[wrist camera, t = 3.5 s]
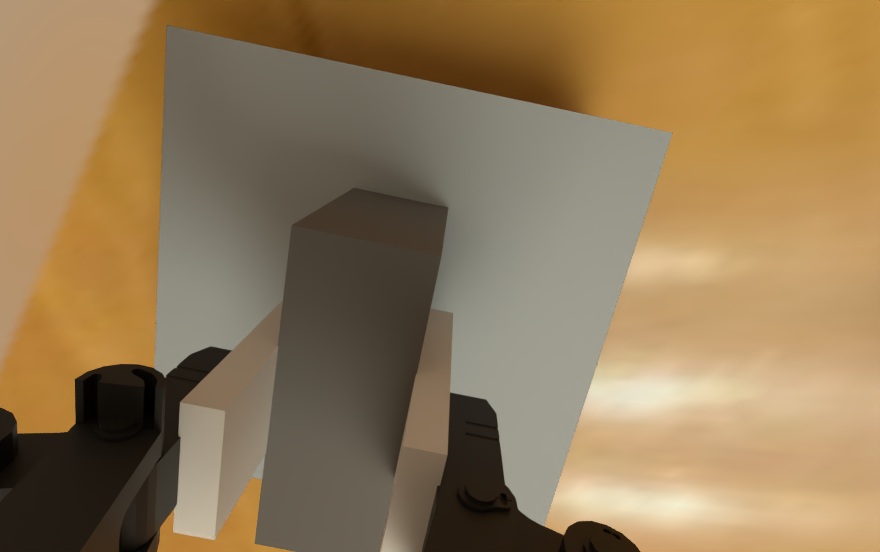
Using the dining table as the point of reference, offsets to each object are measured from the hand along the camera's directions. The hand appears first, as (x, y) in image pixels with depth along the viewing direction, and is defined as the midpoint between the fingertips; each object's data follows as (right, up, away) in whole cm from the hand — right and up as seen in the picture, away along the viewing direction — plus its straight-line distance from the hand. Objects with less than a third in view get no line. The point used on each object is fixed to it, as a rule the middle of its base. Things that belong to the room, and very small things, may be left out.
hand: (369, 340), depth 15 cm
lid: (0, +1, +3) cm, 3 cm away
